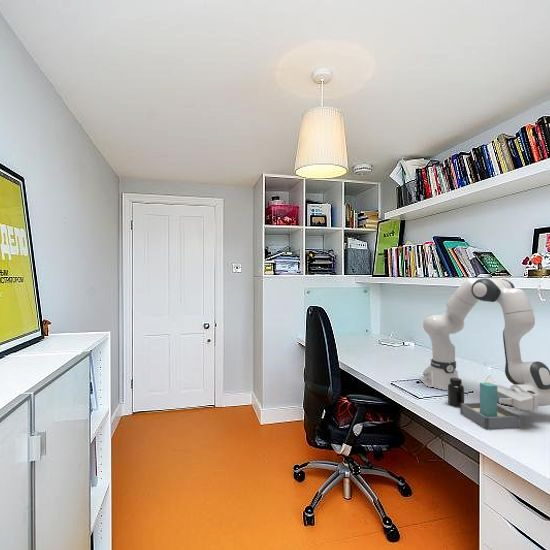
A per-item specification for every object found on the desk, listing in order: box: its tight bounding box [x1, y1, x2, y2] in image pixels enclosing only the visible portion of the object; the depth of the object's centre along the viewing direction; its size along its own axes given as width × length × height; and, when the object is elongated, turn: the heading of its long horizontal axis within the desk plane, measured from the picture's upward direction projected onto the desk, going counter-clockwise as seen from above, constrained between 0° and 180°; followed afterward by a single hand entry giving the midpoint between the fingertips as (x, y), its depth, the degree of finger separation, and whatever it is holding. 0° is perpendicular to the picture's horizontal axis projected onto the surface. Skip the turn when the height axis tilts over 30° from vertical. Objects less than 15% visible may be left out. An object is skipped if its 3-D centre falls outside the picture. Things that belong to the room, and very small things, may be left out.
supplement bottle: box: [447, 377, 465, 408], centre depth 164 cm, size 7×7×12 cm
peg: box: [479, 382, 498, 417], centre depth 147 cm, size 4×4×15 cm
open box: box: [459, 401, 520, 431], centre depth 147 cm, size 16×14×4 cm
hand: (489, 396), depth 147 cm, fingers open, 8 cm apart
